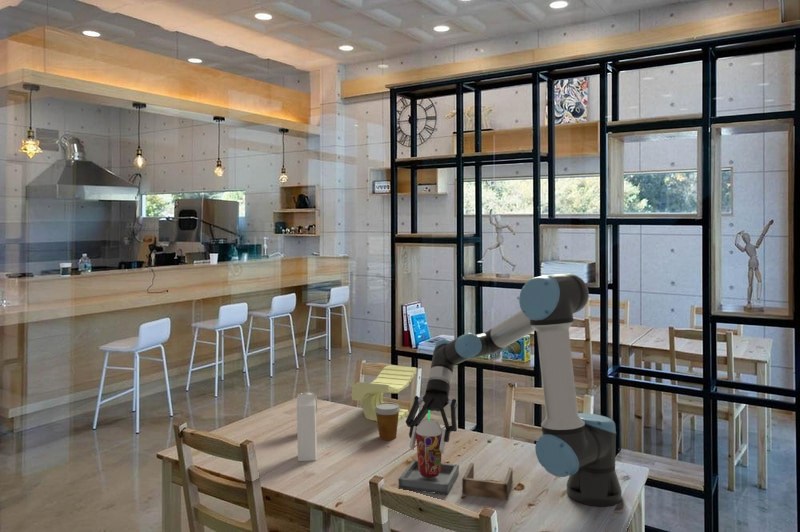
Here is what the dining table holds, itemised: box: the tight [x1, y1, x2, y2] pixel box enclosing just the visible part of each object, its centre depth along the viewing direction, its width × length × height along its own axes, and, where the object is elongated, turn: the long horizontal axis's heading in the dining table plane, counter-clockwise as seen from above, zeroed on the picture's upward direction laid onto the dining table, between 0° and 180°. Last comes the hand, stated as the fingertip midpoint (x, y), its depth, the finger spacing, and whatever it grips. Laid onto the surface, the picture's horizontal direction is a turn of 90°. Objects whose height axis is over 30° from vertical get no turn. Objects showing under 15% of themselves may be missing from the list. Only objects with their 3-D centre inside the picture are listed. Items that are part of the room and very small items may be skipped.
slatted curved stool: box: [351, 364, 417, 423], centre depth 239 cm, size 30×16×18 cm, turn 158°
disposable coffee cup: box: [375, 401, 401, 441], centre depth 215 cm, size 10×10×12 cm
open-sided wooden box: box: [461, 462, 514, 501], centre depth 171 cm, size 13×12×4 cm
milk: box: [296, 394, 318, 462], centre depth 196 cm, size 6×6×22 cm
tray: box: [398, 459, 460, 496], centre depth 177 cm, size 15×15×3 cm
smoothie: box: [416, 410, 443, 478], centre depth 176 cm, size 8×8×20 cm
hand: (426, 449), depth 173 cm, fingers open, 9 cm apart
